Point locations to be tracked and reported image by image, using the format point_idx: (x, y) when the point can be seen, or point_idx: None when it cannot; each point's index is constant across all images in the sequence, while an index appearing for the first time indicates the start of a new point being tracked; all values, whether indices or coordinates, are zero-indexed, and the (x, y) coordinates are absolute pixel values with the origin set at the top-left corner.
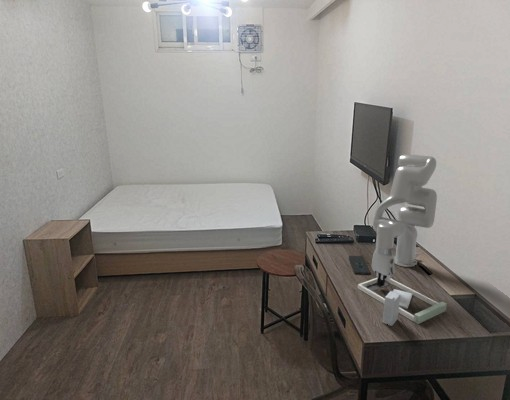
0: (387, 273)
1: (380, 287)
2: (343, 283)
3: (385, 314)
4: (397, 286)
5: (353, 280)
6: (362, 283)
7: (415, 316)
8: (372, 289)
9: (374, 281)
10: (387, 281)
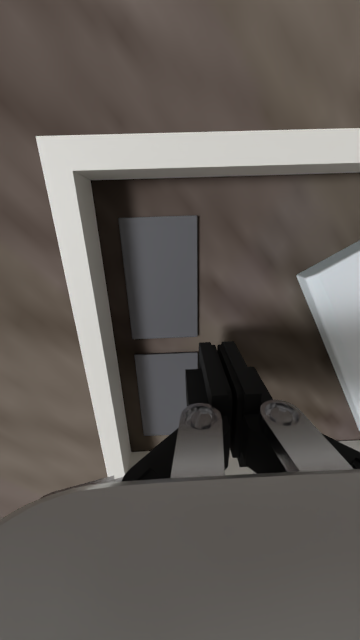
0: None
1: (193, 333)
2: (27, 491)
3: None
4: (280, 173)
5: (5, 425)
6: (113, 463)
7: None
8: (183, 403)
9: (107, 337)
10: (139, 178)
